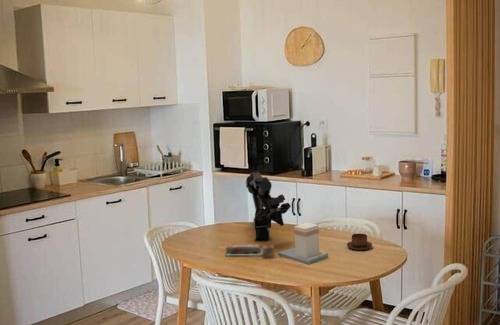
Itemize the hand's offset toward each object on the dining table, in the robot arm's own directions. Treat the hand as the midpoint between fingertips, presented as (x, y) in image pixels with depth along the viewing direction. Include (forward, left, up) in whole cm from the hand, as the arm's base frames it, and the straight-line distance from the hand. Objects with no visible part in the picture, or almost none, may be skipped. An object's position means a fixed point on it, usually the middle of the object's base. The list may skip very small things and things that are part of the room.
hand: (282, 225), depth 277 cm
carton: (+13, -11, -11) cm, 21 cm away
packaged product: (-17, -8, -13) cm, 23 cm away
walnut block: (-5, -12, -12) cm, 18 cm away
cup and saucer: (+36, +6, -13) cm, 39 cm away
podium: (+11, -9, -12) cm, 19 cm away
